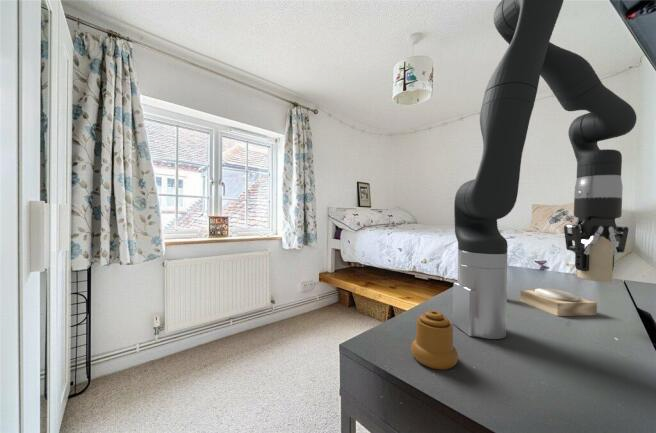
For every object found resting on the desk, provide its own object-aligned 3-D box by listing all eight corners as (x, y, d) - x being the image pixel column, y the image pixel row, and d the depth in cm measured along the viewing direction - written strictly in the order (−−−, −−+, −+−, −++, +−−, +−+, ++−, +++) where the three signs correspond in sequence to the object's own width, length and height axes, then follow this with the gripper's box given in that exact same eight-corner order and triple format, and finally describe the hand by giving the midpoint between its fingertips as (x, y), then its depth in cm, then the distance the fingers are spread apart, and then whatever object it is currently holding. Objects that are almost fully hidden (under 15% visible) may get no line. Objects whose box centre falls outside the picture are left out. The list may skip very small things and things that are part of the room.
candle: (619, 283, 55) (621, 237, 55) (589, 281, 56) (591, 236, 56) (597, 277, 60) (599, 235, 60) (570, 275, 61) (572, 234, 61)
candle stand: (557, 316, 64) (557, 300, 64) (520, 301, 75) (520, 287, 75) (596, 315, 65) (596, 299, 65) (554, 300, 76) (554, 287, 76)
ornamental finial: (402, 357, 44) (424, 343, 49) (446, 378, 39) (465, 360, 44) (403, 311, 44) (424, 302, 49) (446, 326, 39) (465, 313, 44)
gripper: (587, 194, 54) (584, 274, 54) (646, 197, 55) (643, 274, 55) (552, 197, 61) (549, 266, 61) (605, 199, 62) (602, 267, 63)
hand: (594, 270), depth 58 cm, fingers closed on candle, 5 cm apart
